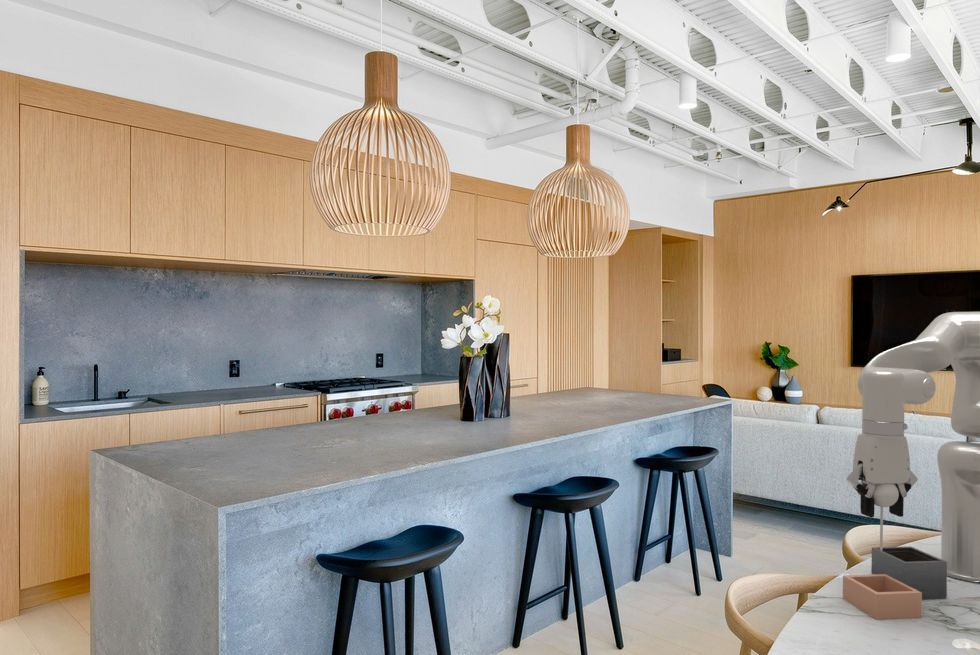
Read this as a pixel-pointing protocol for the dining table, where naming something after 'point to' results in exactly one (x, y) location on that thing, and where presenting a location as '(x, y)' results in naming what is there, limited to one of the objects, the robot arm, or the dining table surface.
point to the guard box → (912, 569)
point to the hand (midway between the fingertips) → (881, 514)
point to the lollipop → (884, 501)
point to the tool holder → (882, 596)
